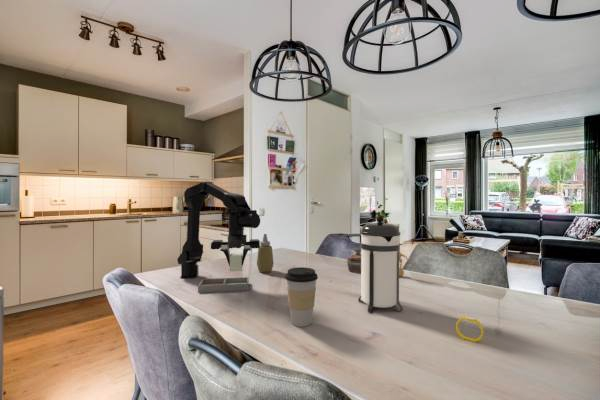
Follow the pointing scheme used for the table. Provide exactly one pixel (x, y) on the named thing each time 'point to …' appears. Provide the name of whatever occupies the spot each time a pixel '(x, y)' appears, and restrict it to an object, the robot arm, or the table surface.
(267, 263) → the squeeze bottle
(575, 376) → the table surface
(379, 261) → the coffee press
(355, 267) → the cupcake
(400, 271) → the figurine
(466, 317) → the yellow ring
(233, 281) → the board
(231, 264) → the sage block
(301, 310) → the coffee cup
